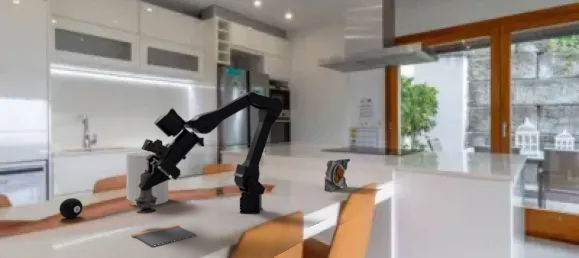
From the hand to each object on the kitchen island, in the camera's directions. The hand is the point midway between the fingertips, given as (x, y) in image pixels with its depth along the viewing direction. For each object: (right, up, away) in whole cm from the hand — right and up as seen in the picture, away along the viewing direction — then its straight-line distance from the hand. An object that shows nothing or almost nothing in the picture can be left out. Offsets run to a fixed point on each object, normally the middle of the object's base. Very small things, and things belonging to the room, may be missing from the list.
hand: (140, 188), depth 101 cm
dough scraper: (+10, -11, -8) cm, 17 cm away
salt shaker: (+1, -7, +1) cm, 7 cm away
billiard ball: (-26, -11, +10) cm, 30 cm away
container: (-11, -11, +33) cm, 37 cm away
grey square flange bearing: (+63, -10, +58) cm, 87 cm away
